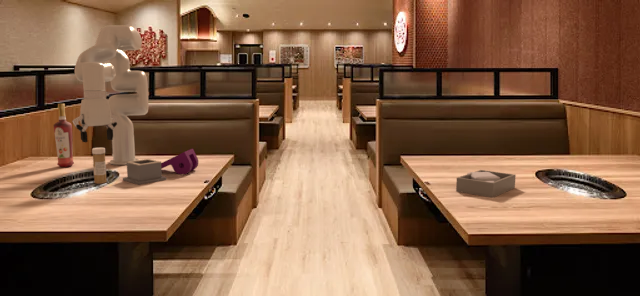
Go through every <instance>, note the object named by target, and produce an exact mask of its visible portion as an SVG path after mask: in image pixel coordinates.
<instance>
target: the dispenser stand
mask: <svg viewBox="0 0 640 296" xmlns="http://www.w3.org/2000/svg"><path fill="white" fill-rule="evenodd" d="M475 172H490V173H492V174H494V175H496V176H498V177H500V180H498V181H495V182H485V181H478V180H472V179H470V176H471V174H472V173H470V172H469V173H470V174H468V173H466V174H463V175H461V176H458V177H456V183H455V184H456V185H455V186H456V188H455V189H456V190H455V191H456V193H457V192H458V193H464V194H469V195H475V196H476V195H477V196H482V197H487V198H495V197H497V196H500V195H502V194H504V193H506V192H509V191H511V190H513V189H515V188H516V176H517V175H516V174H512V173H507V172H506V173H505V172H499V171H492V170H485V169H479V170H477V171H475Z"/></svg>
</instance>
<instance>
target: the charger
mask: <svg viewBox="0 0 640 296" xmlns="http://www.w3.org/2000/svg"><path fill="white" fill-rule="evenodd" d="M470 173H472V174H471V176H470V179H472V180H478V181H485V182H495V181H498V180H500V177H498V176H496V175H494V174H492V173H490V172H476V171H470V172H467V174H470Z"/></svg>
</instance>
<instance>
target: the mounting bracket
mask: <svg viewBox="0 0 640 296" xmlns="http://www.w3.org/2000/svg"><path fill="white" fill-rule="evenodd" d="M168 166H171V167H172V169H173V171H174V172H175V173H176V174H178V175H186V174H188V173H190V172H192V171H195V170H196V169H197V167H198V166H199V158H198V157H197V154H196V152H195V150H194V148H190V149H188V150H186V151H183V152H181V153H179V154H177V155H175V156H173V157H170V158H169V159H167V160H165V161H163V162H161V170H163V169H164V168H166V167H168Z"/></svg>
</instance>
